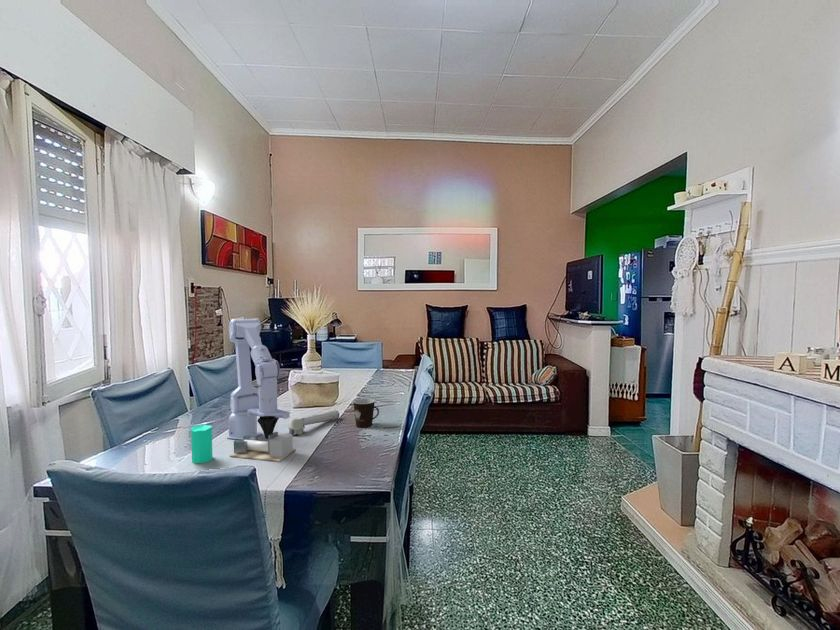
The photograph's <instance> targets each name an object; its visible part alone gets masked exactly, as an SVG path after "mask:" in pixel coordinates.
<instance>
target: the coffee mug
mask: <svg viewBox="0 0 840 630" xmlns="http://www.w3.org/2000/svg"><path fill="white" fill-rule="evenodd" d="M352 403H353V411H354V418H355V420H354V421H355V426H356V428H359V429H368V428H371V427H373V422H374V419H376V418H377V417H378V416H379V414H380V410H379V408H378V406H375V403H376V402H375V399H373V398H366V397H365V398H357V399H355V400H353V401H352ZM375 410H376V411H377V414H376V415H375V416H374V411H375Z"/></svg>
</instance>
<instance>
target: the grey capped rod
mask: <svg viewBox="0 0 840 630" xmlns="http://www.w3.org/2000/svg"><path fill="white" fill-rule="evenodd" d="M339 418H340V412H339V410H336V409H335V410H330V409H329V410H327V411H325V412H321V413H316V414H312V415H308V416H303V417H293V418H292V419H291V422H290V425H289V426H288V427H287V428H288V429H289V430H288V434H290V435H292V436H296V435H302V434H303V433H304V429H305V428H306V427H305V426H309V425H314V424H320V423H325V422H333V421H336V420H338V419H339Z"/></svg>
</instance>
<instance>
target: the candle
mask: <svg viewBox="0 0 840 630" xmlns="http://www.w3.org/2000/svg"><path fill="white" fill-rule="evenodd" d="M190 436H191V438H190V439H191V463H192V464H203V463H207V462H210V461H212V460H213V457H214V456H213V426H212V425H208V424H202V422H200V424H198V425H195V426H193V427H191V428H190Z"/></svg>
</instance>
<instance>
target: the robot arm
mask: <svg viewBox="0 0 840 630" xmlns="http://www.w3.org/2000/svg"><path fill="white" fill-rule="evenodd" d="M261 330H262V324H261V321H260V319H259V318H258V317H256V318H241V319H240V318H239V319H235V318H232V319H231V320H230V321H229V323H228V336H229V341H230V343H233V344H234V348H235V360H236V374H237V387H236V388H235V389H234V390H233V391H232V392H231V394H230V401H229V406H230V407H229V408H230V411H231V412H232V413H231V414H230V415H229V417H228V436H227V437H226V438H227V439H230V440H238V441H243V436H245V435H247V436H257V437H259V436H261V435H264V439H265V440H268V435H270V434H272V433H274V432H275V427H276V425H277V422H278V421H279V419H284V420H287V419H290V411H287V410H282V409H279V408H278V379H277V378H279V377H280V375H281V374H280V369H281V368H280V363H279V361H278V360H276V359H275V358H273V357H272V355H271V353H270V351H269V348H268V347H267V346H266V345H264V344H263V343H262V339H261V336H260V333H261ZM251 360H252V361H253V363H254V366H255V368H254V369H255V370H254V372H255V377H256V385H258V388H256V387H255V386H254V385H253V379H252V363H251ZM258 417H259V418H258ZM258 424H259V426H260V427H261V429H262V431H263V432H262V431H258Z"/></svg>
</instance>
